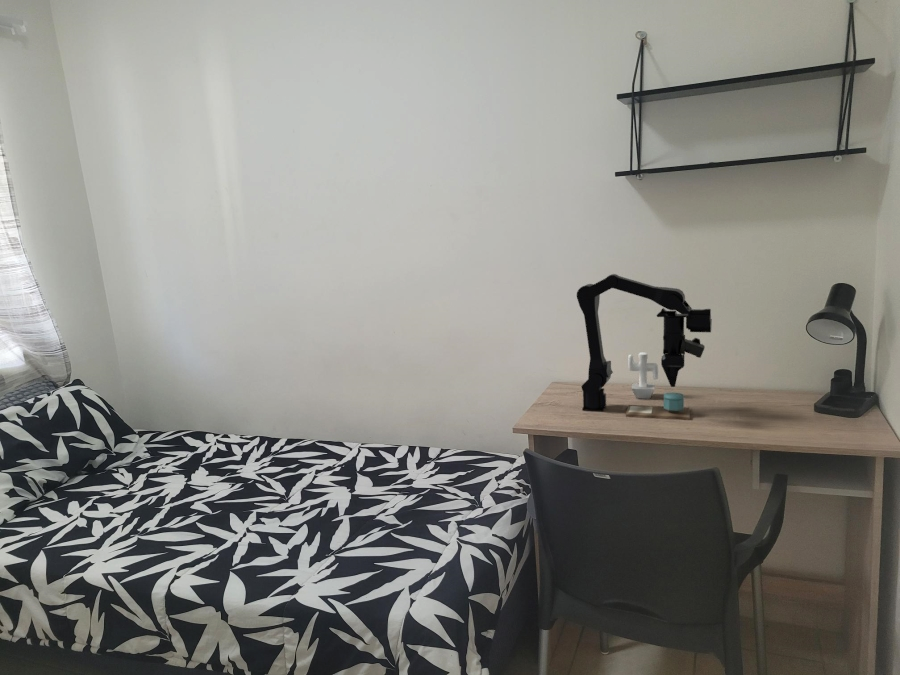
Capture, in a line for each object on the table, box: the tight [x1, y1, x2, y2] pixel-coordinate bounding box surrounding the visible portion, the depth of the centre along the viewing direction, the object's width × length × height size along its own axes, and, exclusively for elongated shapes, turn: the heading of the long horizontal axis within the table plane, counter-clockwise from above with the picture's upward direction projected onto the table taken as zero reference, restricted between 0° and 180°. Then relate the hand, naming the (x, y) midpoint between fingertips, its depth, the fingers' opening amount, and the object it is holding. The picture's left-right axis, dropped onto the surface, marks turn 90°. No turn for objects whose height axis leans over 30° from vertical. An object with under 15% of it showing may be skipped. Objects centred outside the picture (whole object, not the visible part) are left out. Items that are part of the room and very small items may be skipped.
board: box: [625, 404, 691, 421], centre depth 188 cm, size 18×10×5 cm, turn 69°
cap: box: [663, 392, 685, 411], centre depth 186 cm, size 6×6×4 cm
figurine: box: [627, 351, 659, 400], centre depth 206 cm, size 7×9×15 cm
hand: (673, 382), depth 185 cm, fingers open, 9 cm apart
